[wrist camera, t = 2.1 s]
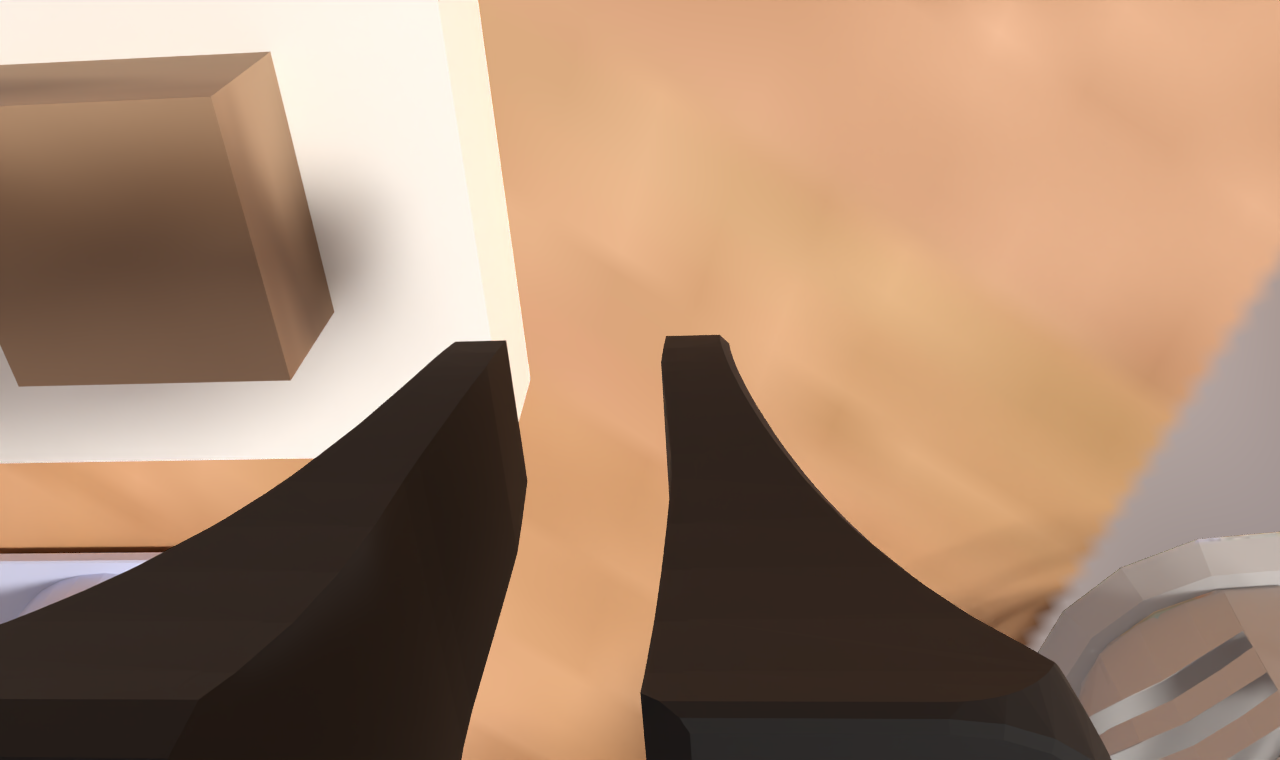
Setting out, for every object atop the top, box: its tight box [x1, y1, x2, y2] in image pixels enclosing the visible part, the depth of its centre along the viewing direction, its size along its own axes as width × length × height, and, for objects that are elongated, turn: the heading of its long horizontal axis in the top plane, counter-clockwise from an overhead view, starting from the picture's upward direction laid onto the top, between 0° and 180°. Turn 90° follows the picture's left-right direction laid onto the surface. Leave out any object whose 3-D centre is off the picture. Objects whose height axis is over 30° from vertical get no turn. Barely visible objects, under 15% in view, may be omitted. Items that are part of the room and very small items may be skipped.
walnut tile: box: [0, 52, 334, 387], centre depth 18 cm, size 5×5×2 cm
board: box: [0, 0, 530, 463], centre depth 21 cm, size 12×15×3 cm
